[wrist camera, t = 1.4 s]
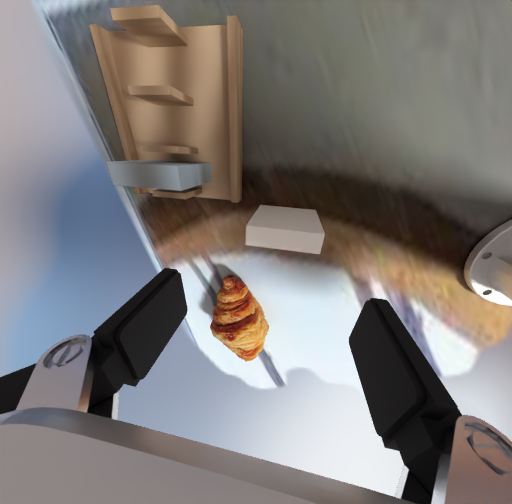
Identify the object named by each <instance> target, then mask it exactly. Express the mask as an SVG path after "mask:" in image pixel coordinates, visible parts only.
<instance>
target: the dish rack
mask: <svg viewBox="0 0 512 504" xmlns="http://www.w3.org/2000/svg"><path fill="white" fill-rule="evenodd" d="M111 14H112V18H113V21H114V22H116V23H117V24H118V25H120V26H121V27H123V28H124V29H125V30H122V31H106V30H105V29H103V28H102V27H100V26H99V25H97V24H90V25H89V26H90V30H91V33H92V37H93V41H94V44H95V48H96V52H97V55H98V59H99V63H100V66H101V70H102V74H103V77H104V81H105V85H106V89H107V92H108V96H109V100H110V103H111V107H112V111H113V114H114V118H115V122H116V125H117V129H118V133H119V136H120V140H121V144H122V148H123V151H124V155H125V159H126V161H106V164H107V167H108V170H109V173H110V176H111V179H112V182H113V185H119V186H131V187H133V188H134V192H135V193H136V194H142V193H146V192H147V193H152V195H153V196H155V197H166V198H176V199H188V198H190V197H202V198H213V199H224V200H231V202H233V203H238V202H239V201H240V200H242V109H243V30H242V27H241V25H240V22H239V20H238V18H237V15H232V16H227V25H211V26H193V27H178V26H177V25H176V24H175V23H174V22H173V21H172V19H171V18H170V17H169V16H168V15H167V14H166V13H165V12H164V11H163V10H162V8H161V7H160V6H159V5H150V6H137V7H124V8H111Z"/></svg>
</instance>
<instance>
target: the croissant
mask: <svg viewBox="0 0 512 504" xmlns="http://www.w3.org/2000/svg"><path fill="white" fill-rule="evenodd" d="M222 282H223V287H222V288H221V289H220V290H219V292H218V294H217V301H216V303H217V304H216V306H215V309H214V310H213V316H214V320H213V321H212V323H211V325H210V328H211V330H212V334H213V336H214V337H216V338H217V339H218V340H220V341H221V342H223V344H224V345H225V346H227V347H228V348H229V349H230V350H231V351H232V352H234V353H236V355H237V356H238V357H240V358H241V359H244V360H245V361H246V362H247V361H251V360H253V359H254V358H256V356H257V354H258V353H259V352H261V350H262V348H263V345H264V341H265V336H266V334H267V332H268V330H269V325H268V324H267V321H266V320H265V319H264V312H263V310H262V308H261V306H260V305H259V303H258V302H257V301H256V299H255V298H254V297H253V295H252V294H251V292H250V291H249V290H248V287H247V286H246V285H245V284H244V283H243V282H242V281H241V280H240V279H238V278H237V277H235V276H234V275H228V276H226V277H224V279H223V280H222Z"/></svg>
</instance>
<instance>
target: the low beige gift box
mask: <svg viewBox="0 0 512 504" xmlns="http://www.w3.org/2000/svg"><path fill="white" fill-rule="evenodd" d="M324 236H325V233H324V230H323V228H322V225H321V222H320V220H319V217H318V214H317V212H316V210H312V209H301V208H290V207H279V206H268V205H260V206H259V208H258V209H257V211H256V212H255V213H254V215H253V216H252V218H251V219H250V221H249V222H248V223H247V225H246V245H250V246H258V247H265V248H273V249H281V250H289V251H297V252H305V253H313V254H320V252H321V248H322V244H323V240H324Z"/></svg>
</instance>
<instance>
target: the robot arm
mask: <svg viewBox="0 0 512 504" xmlns="http://www.w3.org/2000/svg"><path fill="white" fill-rule="evenodd" d="M464 278H465V281H466V283H467V285H468V286H469V287H470V289H471V290H472V291H474V292H475V293H476V294H477V295H479V296H480V297H482V298H484V299H486V300H488V301H490V302H493V303H497V304H502V305H509V306H512V219H511V220H509V221H508V222H506V223H504V224H502V225H501V226H499V227H497V228H496V229H495V230H493V231H492V232H491V233H489V234H488V235H487V236H485V237H484V238H483V239H482V240H481V241H480V242H479V243H478V244H477V245H476V246H475V248H474V249H473V250H472V252H471V253H470V255H469V257H468V259H467V261H466V263H465V267H464ZM186 314H187V304H186V299H185V294H184V289H183V284H182V278H181V274H180V273H178V271H177V270H176V269H169V268H165V269H163V270H162V271H161V272H160V273H159V274H158V275H157V276H155V277H154V278H153V279H152V280H151V281H150V282H149V283H148V284H146V285H145V286H144V287H143V288H142V289H141V290H140V291H139V292H138V293H136V294H135V295H134V296H133V297H132V298H131V299H130V300H129V301H128V302H126V303H125V304H124V305H123V306H122V307H121V308H120V309H119V310H117V311H116V312H115V313H114V314H113V315H112V316H111V317H110V318H108V319H107V320H106V321H105V322H104V323H103V324H102V325H101V326H99V327H98V328H97V329H96V330H95V331H94V334H95V335H94V336H93V337H92V338H90V336H88V335H75V336H71V337H69V338H66V339H63V340H62V341H60V342H58V343H56V344H54V345H53V346H52V347H51V348H49V349H48V350H47V351H46V352H45V353H44V354H43V355H42V356H41V357H40V359H39V361H38V362H37V363H36V364H33V365H31V366H28V367H26V368H23V369H20V370H18V371H15V372H13V373H10V374H8V375H5V376H3V377H0V504H512V442H511V441H510V440H509V439H508V438H507V437H506V436H505V435H504V434H502V433H501V432H500V431H499V430H497V429H496V428H494V427H493V426H492V425H490V424H488V423H486V422H485V421H483V420H481V419H479V418H476V417H474V416H468V415H463V416H462V414H461V413H460V411H459V410H458V408H457V407H458V406H457V405H456V403H455V402H454V400H453V399H452V398H451V396H450V395H449V393H448V391H447V390H446V388H445V387H444V385H443V384H442V382H441V381H440V379H439V378H438V376H437V375H436V373H435V372H434V370H433V369H432V367H431V366H430V364H429V363H428V361H427V359H426V358H425V356H424V355H423V353H422V352H421V350H420V349H419V347H418V346H417V344H416V343H415V341H414V340H413V338H412V337H411V335H410V334H409V332H408V331H407V329H406V328H405V326H404V325H403V323H402V322H401V320H400V319H399V317H398V316H397V314H396V312H395V311H394V309H393V308H392V306H391V305H390V303H389V302H388V301H387V300H384V299H377V298H371V299H370V300H367V301H366V302H365V304H364V306H363V309H362V311H361V313H360V315H359V317H358V320H357V322H356V324H355V326H354V328H353V330H352V333H351V335H350V337H349V345H350V348H351V352H352V355H353V358H354V361H355V365H356V368H357V371H358V375H359V378H360V381H361V384H362V388H363V391H364V394H365V398H366V401H367V404H368V407H369V411H370V414H371V417H372V421H373V424H374V427H375V430H376V432H377V434H378V435H379V436H381V437H382V440H383V443H384V446H385V448H389V449H394V450H398V451H400V454H401V457H402V460H403V462H404V467H403V470H402V473H401V477H400V480H399V483H398V487H397V491H396V494H395V497H393V496H389V495H386V494H383V493H379V492H376V491H373V490H370V489H366V488H363V487H359V486H355V485H352V484H348V483H345V482H341V481H338V480H334V479H331V478H327V477H323V476H320V475H316V474H313V473H309V472H305V471H302V470H298V469H295V468H291V467H288V466H284V465H280V464H277V463H273V462H269V461H266V460H262V459H259V458H255V457H251V456H248V455H244V454H241V453H237V452H233V451H230V450H226V449H222V448H219V447H215V446H211V445H208V444H204V443H200V442H197V441H193V440H189V439H185V438H182V437H178V436H175V435H171V434H167V433H163V432H160V431H155V430H152V429H148V428H145V427H141V426H137V425H134V424H130V423H126V422H122V421H118V420H117V415H118V399H119V390H120V388H121V387H122V386H123V384H127V385H131V386H136V385H137V384H138V382H139V381H140V380H141V379H143V378H144V377H145V376H146V375H147V373H148V372H149V370H150V369H151V367H152V366H153V364H154V363H155V361H156V360H157V358H158V357H159V355H160V354H161V352H162V351H163V349H164V348H165V346H166V345H167V343H168V342H169V340H170V339H171V337H172V335H173V334H174V332H175V331H176V329H177V328H178V326H179V325H180V323H181V322H182V320H183V319H184V317H185V316H186Z"/></svg>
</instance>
